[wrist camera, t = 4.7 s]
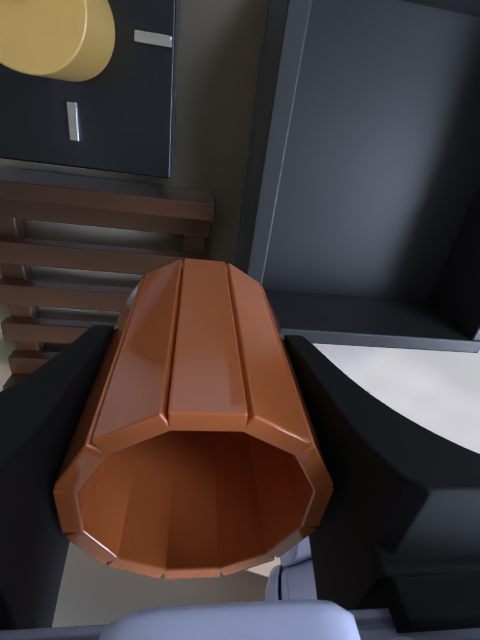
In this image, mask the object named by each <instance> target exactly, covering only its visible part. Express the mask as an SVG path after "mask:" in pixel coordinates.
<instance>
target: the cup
mask: <svg viewBox="0 0 480 640" xmlns="http://www.w3.org/2000/svg"><path fill="white" fill-rule="evenodd" d="M333 490H334V489H333V480H332V477H331V474H330V471H329V468H328V465H327V463H326V460H325V457H324V454H323V451H322V448H321V445H320V443H319V440H318V437H317V434H316V431H315V428H314V425H313V422H312V420H311V417H310V414H309V411H308V408H307V405H306V402H305V400H304V397H303V394H302V391H301V388H300V385H299V382H298V379H297V377H296V374H295V371H294V368H293V365H292V362H291V359H290V357H289V354H288V351H287V348H286V345H285V342H284V339H283V336H282V334H281V331H280V328H279V325H278V322H277V319H276V316H275V314H274V312H273V309H272V307H271V305H270V302H269V300H268V298H267V296H266V293H265V291H264V289H263V287H262V286H260V284H259V282H257V281H256V280H254V279H253V278H251V277H250V276H248V275H247V274H245V273H244V272H242V271H241V270H239V269H238V268H236V267H235V266H233V265H232V264H230V263H228V264H227V265H226V264H225V262H224V261H213V260H200V259H187V258H186V259H184V261H182V260H181V259H180V260H177V261H175V262H173V263H171V264H168V265H166V266H164V267H162V268H159V269H157V270H155V271H153V272H151V273H148V274H146V275H145V277H144V278H141V279H140V281H139V283H138V284H137V286H136V287H135V289H134V290H133V292H132V293H131V295H130V296H129V298H128V299H127V301H126V302H125V304H124V305H123V307H122V310H121V313H120V315H119V318H118V320H117V323H116V326H115V328H114V331H113V334H112V337H111V339H110V342H109V344H108V347H107V349H106V352H105V354H104V357H103V359H102V362H101V365H100V367H99V370H98V372H97V375H96V378H95V380H94V383H93V385H92V388H91V391H90V393H89V396H88V398H87V401H86V404H85V406H84V409H83V411H82V414H81V416H80V419H79V422H78V424H77V427H76V429H75V432H74V435H73V437H72V440H71V442H70V445H69V448H68V450H67V453H66V455H65V458H64V461H63V463H62V466H61V468H60V471H59V474H58V476H57V479H56V481H55V484H54V489H53V496H54V501H55V505H56V510H57V514H58V519H59V523H60V528H61V532H63V533H65V537H66V538H67V539H69V540H70V541H71V542H73V543H74V544H75V545H77V546H78V547H79V548H81V549H82V550H84V551H85V552H86V553H87V554H89V555H90V556H91V557H93V558H94V559H96V560H97V561H98V562H100V563H101V564H104V563H107V566H108V567H112V568H116V569H120V570H124V571H128V572H132V573H136V574H140V575H144V576H149V577H153V578H157V579H158V578H160V577H161V576H162V575H163V578H164V579H184V578H207V577H218V576H219V575H220V572H221V573H222V574H223V575H224V576H226V575H229V574H232V573H236V572H238V571H242V570H245V569H248V568H251V567H254V566H258V565H261V564H264V563H267V562H270V561H273V560H274V556H275V557H281V556H282V555H284V554H285V553H286V552H288V551H289V550H290V549H292V548H293V547H294V546H296V545H297V544H298V543H300V542H301V541H302V540H304V539H305V538H306V537H308V536H309V535H310V534H312V533H313V532H314V531H315V530H316V527H318V526H320V523H321V521H322V518H323V516H324V513H325V511H326V508H327V506H328V503H329V501H330V498H331V496H332V493H333Z"/></svg>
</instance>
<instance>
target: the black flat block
mask: <svg viewBox="0 0 480 640" xmlns="http://www.w3.org/2000/svg"><path fill="white" fill-rule="evenodd" d="M108 3H109V5H110V8H111V11H112V14H113V19H114V24H115V44H114V49H113V53H112V56H111V58H110V61H109V62H108V64H107V66H106V67H105V68H104V69H103V71H101V72H100V73H99V74H98V75H97V76H95V77H93V78H91V79H89V80H85V81H80V82H72V81H65V80H59V79H53V78H47V77H40V76H34V75H29V74H24V73H20V72H18V71H15V70H12V69H10V68H8V67H6V66H4V65H3V64H1V63H0V158H4V159H13V160H21V161H29V162H38V163H46V164H54V165H62V166H71V167H79V168H87V169H96V170H104V171H112V172H120V173H129V174H137V175H145V176H154V177H162V178H170V176H171V174H172V172H173V169H174V150H175V123H176V96H177V69H178V42H179V16H180V0H108Z"/></svg>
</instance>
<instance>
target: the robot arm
mask: <svg viewBox="0 0 480 640" xmlns="http://www.w3.org/2000/svg"><path fill="white" fill-rule="evenodd" d="M113 331H114V326H109V325H93V326H92V327H90V328H89V329H88V330H87V331H85V332H84V333H83V334H82V335H81V336H79V337H78V338H77V339H76V340H74V341H73V342H72V343H71V344H70V345H68V346H67V347H66V348H65V349H63V350H62V351H61V352H59V353H58V354H57V355H56V356H54V357H53V358H52V359H50V360H49V361H48V362H46V363H45V364H43V365H42V366H40V367H39V368H38V369H36V370H35V371H33V372H32V373H31V374H29V375H28V376H26V377H25V378H23V379H22V380H20V381H18V382H17V383H15V384H14V385H12V386H10V387H9V388H7V389H5V390H3V391H2V392H0V640H480V454H478V453H476V452H473V451H471V450H469V449H466V448H464V447H462V446H460V445H457V444H455V443H453V442H451V441H449V440H447V439H445V438H443V437H441V436H439V435H437V434H435V433H433V432H431V431H429V430H427V429H425V428H423V427H422V426H420V425H418V424H416V423H415V422H413V421H411V420H409V419H408V418H406V417H404V416H402V415H401V414H399V413H398V412H396V411H394V410H393V409H391V408H390V407H388V406H387V405H385V404H384V403H382V402H381V401H379V400H378V399H376V398H375V397H373V396H372V395H371V394H370V392H368V391H365V390H364V389H363V388H361V387H360V386H359V385H358V384H356V383H355V382H354V381H353V380H351V379H350V378H349V377H348V376H347V375H345V374H344V373H343V372H342V371H341V370H340V369H339V368H337V367H336V366H335V365H334V364H333V363H332V362H331V361H330V360H329V359H327V358H326V357H325V356H324V355H323V354H322V353H321V352H320V351H319V350H318V349H317V348H316V347H315V346H314V345H312V344H311V343H310V342H309V341H308V340H307V339H306V338H305V337H303V336H300V335H285V336H284V342H285V345H286V348H287V351H288V354H289V357H290V359H291V362H292V365H293V368H294V371H295V374H296V377H297V379H298V382H299V385H300V388H301V391H302V394H303V397H304V400H305V402H306V405H307V408H308V411H309V414H310V417H311V420H312V422H313V425H314V428H315V431H316V434H317V437H318V440H319V443H320V445H321V448H322V451H323V454H324V457H325V460H326V463H327V465H328V468H329V471H330V474H331V477H332V480H333V489H334V490H333V493H332V496H331V498H330V501H329V503H328V506H327V508H326V511H325V513H324V516H323V518H322V521H321V523H320V526H318V527H316V530H315V531H314V532H313V533H312V534H310V535H309V536H308V537H306V538H305V539H304V540H302V541H301V542H300V543H298V544H297V545H296V546H294V547H293V548H292V549H290V550H289V551H288V552H286V553H285V554H284V555H282V556H281V557H280V560H281V565H277V566H275V567H274V568H273V569H272V570H271V572H270V575H269V579H268V584H267V587H266V591H265V601H254V602H234V603H216V604H196V605H177V606H162V607H156V608H151V609H145V610H139V611H133V612H131V613H129V614H127V615H125V616H123V617H121V618H119V619H117V620H115V621H113V622H111V623H110V624H107V625H90V626H89V625H88V626H73V627H72V626H71V627H54V628H52V622H53V618H54V613H55V608H56V603H57V598H58V593H59V588H60V584H61V579H62V574H63V570H64V565H65V561H66V556H67V551H68V547H69V542H70V540H69V539H67V538H66V537H65V533H63V532H61V528H60V523H59V519H58V514H57V510H56V505H55V501H54V496H53V489H54V484H55V481H56V479H57V476H58V474H59V471H60V468H61V466H62V463H63V461H64V458H65V455H66V453H67V450H68V448H69V445H70V442H71V440H72V437H73V435H74V432H75V429H76V427H77V424H78V422H79V419H80V416H81V414H82V411H83V409H84V406H85V404H86V401H87V398H88V396H89V393H90V391H91V388H92V385H93V383H94V380H95V378H96V375H97V372H98V370H99V367H100V365H101V362H102V359H103V357H104V354H105V352H106V349H107V347H108V344H109V342H110V339H111V337H112V334H113Z"/></svg>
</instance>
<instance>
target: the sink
mask: <svg viewBox="0 0 480 640" xmlns="http://www.w3.org/2000/svg"><path fill="white" fill-rule="evenodd" d="M234 266H235V267H236V268H238V269H239V270H241V271H242V272H244V273H245V274H247V275H248V276H250V277H251V278H253V279H254V280H256V281H257V282H259V284H260V286H262V287H263V289H264V291H265V293H266V296H267V298H268V300H269V302H270V305H271V307H272V309H273V312H274V314H275V316H276V319H277V322H278V325H279V328H280V331H281V334H282V336H283V339H284V336H285V335H300V336H303V337H305V338H306V339H307V340H308V341H309V342H310V343H318V344H335V345H352V346H368V347H385V348H402V349H419V350H436V351H453V352H470V353H478V351H479V350H480V0H268V6H267V14H266V21H265V29H264V37H263V44H262V52H261V60H260V67H259V75H258V83H257V90H256V98H255V106H254V113H253V121H252V129H251V136H250V144H249V151H248V159H247V167H246V174H245V182H244V190H243V197H242V205H241V213H240V220H239V228H238V236H237V243H236V251H235V259H234Z"/></svg>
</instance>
